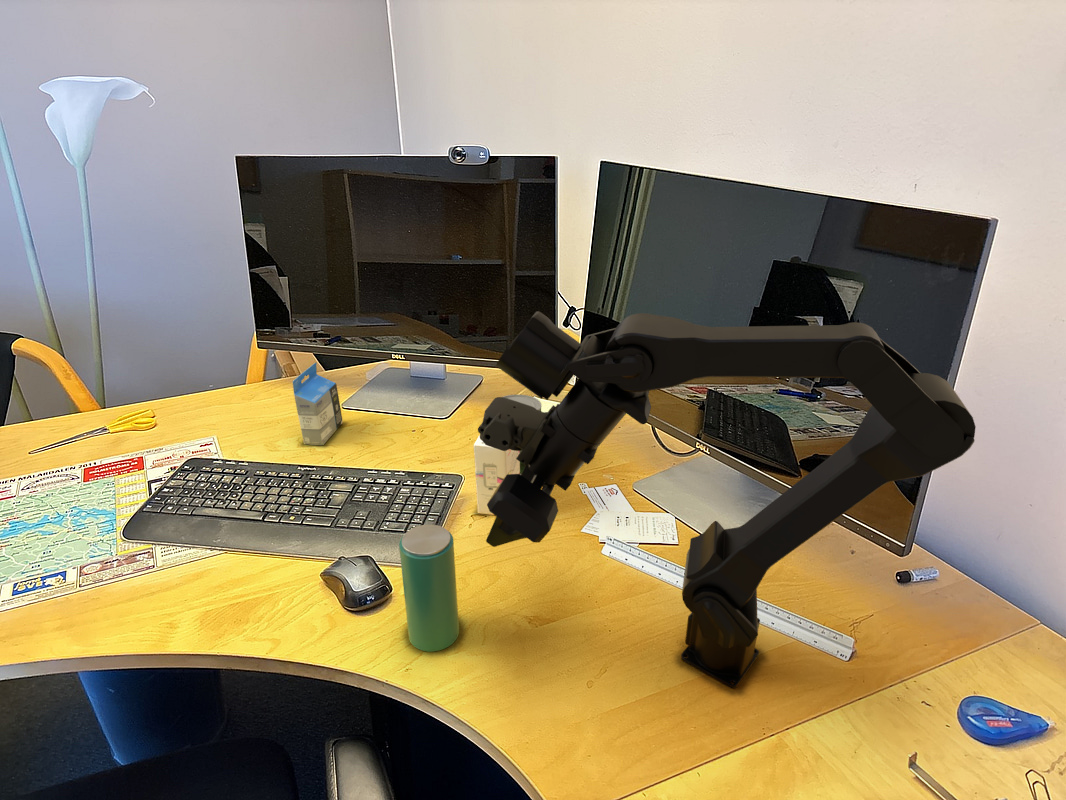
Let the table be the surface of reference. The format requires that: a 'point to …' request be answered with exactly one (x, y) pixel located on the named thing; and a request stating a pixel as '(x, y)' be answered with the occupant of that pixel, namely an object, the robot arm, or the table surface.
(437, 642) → the can
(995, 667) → the table surface
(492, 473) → the ink cartridge box
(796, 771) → the table surface
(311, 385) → the label tape box
